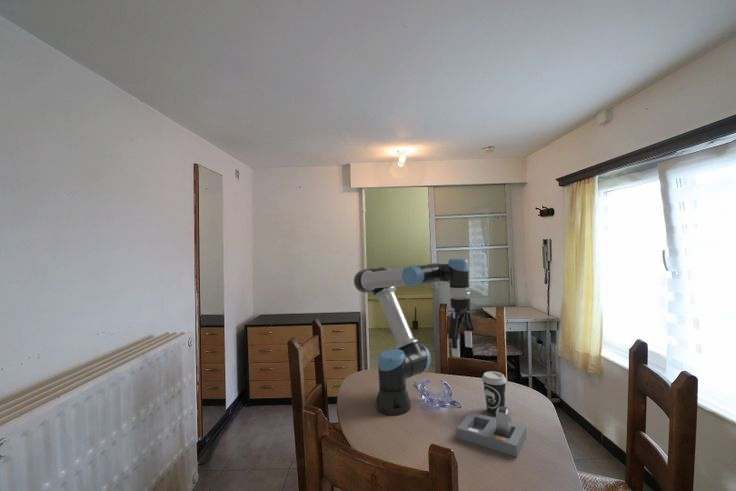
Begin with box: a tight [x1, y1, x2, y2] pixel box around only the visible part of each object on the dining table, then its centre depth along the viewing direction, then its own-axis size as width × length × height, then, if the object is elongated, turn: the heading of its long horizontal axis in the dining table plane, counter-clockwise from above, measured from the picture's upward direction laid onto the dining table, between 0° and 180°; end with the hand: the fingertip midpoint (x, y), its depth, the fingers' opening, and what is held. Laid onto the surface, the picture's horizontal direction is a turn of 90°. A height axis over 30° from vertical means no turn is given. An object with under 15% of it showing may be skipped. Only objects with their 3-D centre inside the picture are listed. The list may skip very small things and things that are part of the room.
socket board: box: [456, 411, 528, 458], centre depth 118 cm, size 20×14×4 cm
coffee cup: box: [481, 370, 507, 417], centre depth 135 cm, size 10×10×15 cm
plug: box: [495, 406, 512, 439], centre depth 115 cm, size 4×4×11 cm
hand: (462, 351), depth 131 cm, fingers open, 13 cm apart
